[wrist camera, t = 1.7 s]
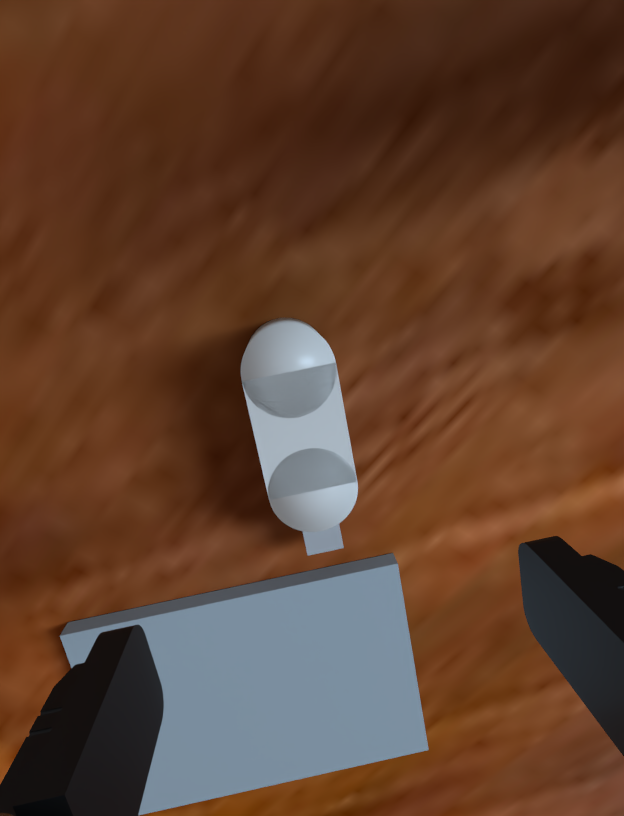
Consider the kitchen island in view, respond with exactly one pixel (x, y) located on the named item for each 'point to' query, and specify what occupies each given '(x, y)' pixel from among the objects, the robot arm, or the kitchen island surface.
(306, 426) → the rounded plug
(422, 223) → the kitchen island surface
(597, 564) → the robot arm
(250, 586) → the cutting board
